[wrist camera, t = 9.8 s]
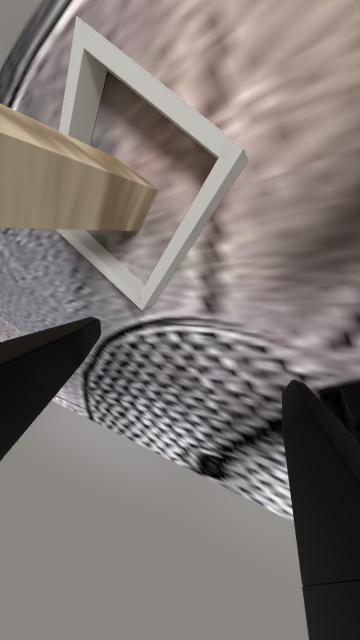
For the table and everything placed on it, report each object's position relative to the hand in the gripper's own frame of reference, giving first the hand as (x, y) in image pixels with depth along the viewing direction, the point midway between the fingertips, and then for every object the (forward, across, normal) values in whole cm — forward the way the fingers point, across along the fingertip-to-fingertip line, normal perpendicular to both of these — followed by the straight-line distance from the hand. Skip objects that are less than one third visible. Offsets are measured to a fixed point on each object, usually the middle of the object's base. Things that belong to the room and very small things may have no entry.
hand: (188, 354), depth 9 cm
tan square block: (+16, +11, -4) cm, 19 cm away
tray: (+15, +10, -4) cm, 19 cm away
